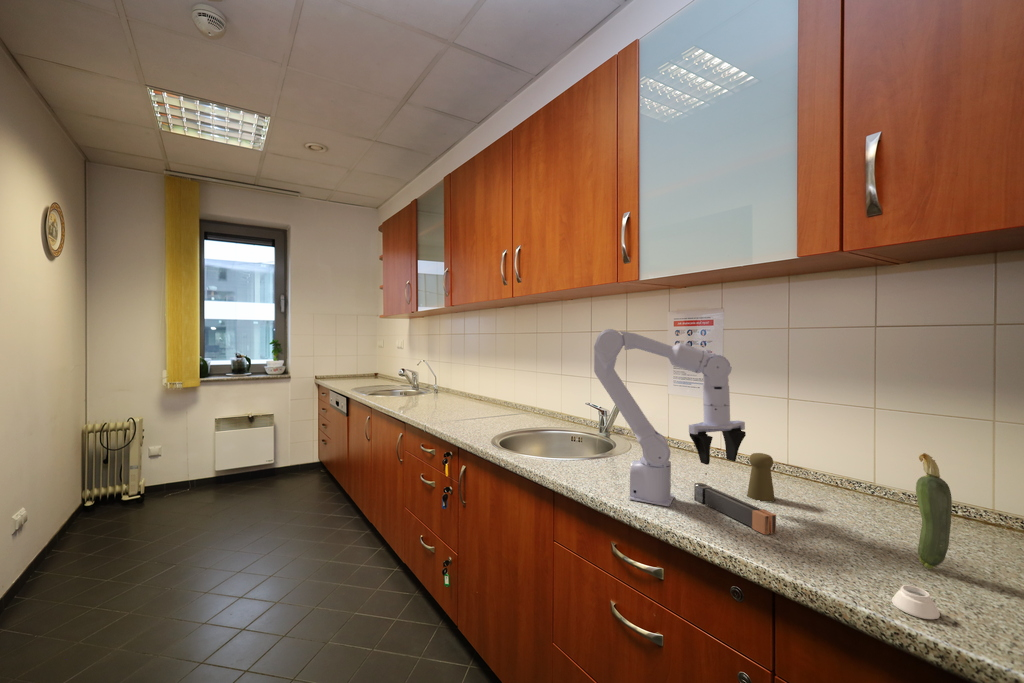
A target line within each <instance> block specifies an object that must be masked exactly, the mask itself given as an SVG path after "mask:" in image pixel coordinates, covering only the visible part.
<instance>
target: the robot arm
mask: <svg viewBox="0 0 1024 683" xmlns="http://www.w3.org/2000/svg"><path fill="white" fill-rule="evenodd" d="M623 346H624V351H627V350H633V349H634V350H635V349H637V350H641V351H645V352H647V353H651V354H655V355H658V356H661V357H664V358H667V359H668V360H669V362H670V364H671V366H674V367H677V368H680V369H683V370H686V371H690V372H692V373H695V374H700V373H701V374H702V376H703V380H702V381H703V383H702V401H703V402H702V403H703V406H702V407H703V422H697V423H693V424H692V423H691V424H688V433H689V434H688V435H689V437H690V439H691V440H692V442H693V444H694V446H695V448H696V451H697V453H698V457H699V461H700V463H701V464H703V465H707V466H708V465H710V460H711V459H710V457H711V456H710V455H711V445H712V441H713V436H712V435H709V434H708V433H717V432H721V433H722V435H723V440H724V445H725V456H726V457H725V458H726V460H727V461H731V462H736V461H737V456H738V452H739V450H740V446H741V444H742V443H743V440H744V438H745V437H746V431H744V430H746V422H745V421H744V420H731V405H730V404H731V403H730V402H731V401H730V400H731V398H730V384H729V382H730V381H729V376H730V374H731V373H732V369H733V368H732V366H731V363H730V361H729V359H727V357H725V356H723V355H720V354H716V353H712V351H711V350H710V349H705V350H703V349H701V348H697V347H694V346H691V343H689V342H684V343H682V342H679V343H676V344H675V345H669V344H667V343H664V342H660V341H658V340H655V339H652V338H649V337H647V336H644V335H641V334H637V333H634V332H629V331H623V330H622V331H621V330H619V331H618V330H616V329H613V328H606V329H604V330H602V331H601V332H599V334H598V335H597V337H596V339H595V343H594V344H593V354H594V355H593V356H594V357H593V370H594V371H593V372H594V374H595V375H596V377H597V379H598V380H599V381H600V383H601V385H602V386H603V388H604V389H605V391H606V392H607V394H608V395H609V397H610V399H611V400H612V402H613V403H614V405H615V406H616V407H617V409H618V411H619V412H620V414H621V415H622V417H623V418H624V420H625V421H626V423H627V425H628V426H629V428H630V429H631V430H632V432H633V434H634V435H635V438H636V440H637V442H638V443H639V444H638V445H640V447H641V448H642V457H640V460H636V459H635V460H632V462H631V464H630V469H629V496H628V499H629V500H630V501H636V502H641V503H648V504H653V505H657V506H662V507H663V506H664V507H670V506H671V504H672V503H673V500H674V498H675V495H674V494H672V493H671V492H672V491H671V487H672V486H671V483H672V478H671V477H672V463H671V461H670V459H671V454H672V453H671V449H670V447H669V444H668V440H667V438H666V437H665V436H664V435H663V434H661V433H659V432H658V431H657V430H656V429H655V428H654V426H653V425H652V423H651V422H650V420H648V418H647V416H646V415H645V414H644V412H643V410H642V409H641V408H640V406H639V404H638V403H637V401H636V400H635V399H634V397H633V395H632V394H631V392H630V391H629V389H628V388H627V386H626V385H625V383H624V382H623V380H622V379H621V378H620V376H619V374H618V373H617V371H616V370H615V366H616V363H617V362H616V361H617V357H618V355H619V353H620V352H621V350H622V349H623Z"/></svg>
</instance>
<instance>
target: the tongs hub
mask: <svg viewBox="0 0 1024 683" xmlns="http://www.w3.org/2000/svg"><path fill="white" fill-rule="evenodd" d="M693 486H694V487H693V488H694V491H693V492H694V493H693V498H694V501H696V502H697V503H700V504H701V505H706V504H705V489H709V490H711V488H713V487H712V486H711V485H708V484H706V483H703V482H694V485H693Z"/></svg>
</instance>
